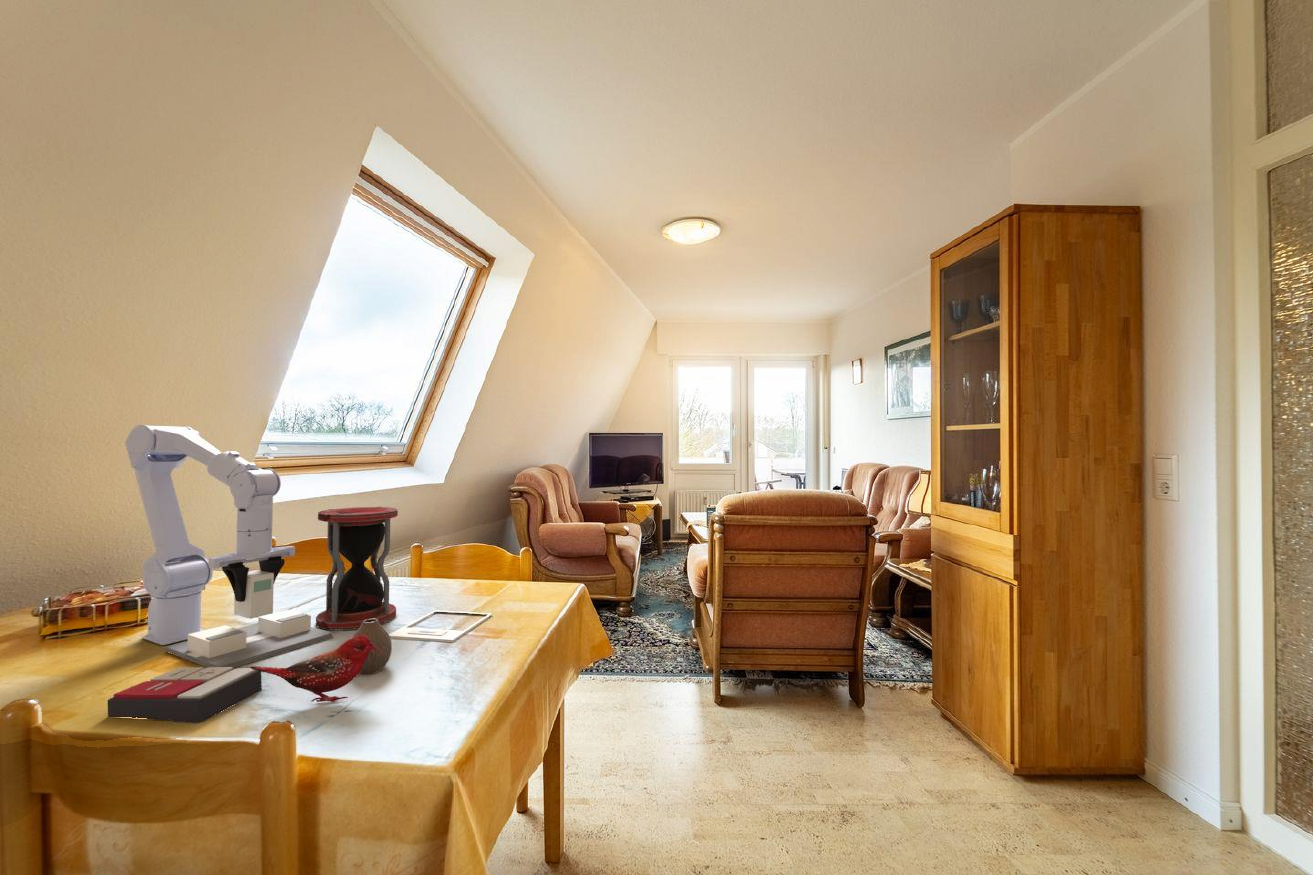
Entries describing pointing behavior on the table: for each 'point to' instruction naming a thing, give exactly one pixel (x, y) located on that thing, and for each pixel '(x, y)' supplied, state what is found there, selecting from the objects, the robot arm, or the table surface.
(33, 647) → the table surface
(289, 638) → the rail board
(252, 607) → the module block
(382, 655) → the vase
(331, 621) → the hourglass
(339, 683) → the decorative bird figurine
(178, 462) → the robot arm
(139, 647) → the table surface
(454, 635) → the photo frame
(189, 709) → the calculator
